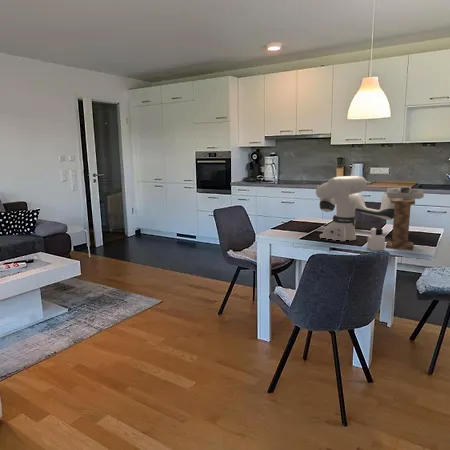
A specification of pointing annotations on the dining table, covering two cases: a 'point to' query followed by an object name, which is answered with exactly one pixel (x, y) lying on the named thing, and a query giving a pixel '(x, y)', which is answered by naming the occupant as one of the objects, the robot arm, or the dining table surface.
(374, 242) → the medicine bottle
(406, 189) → the wooden wick
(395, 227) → the walnut stand
